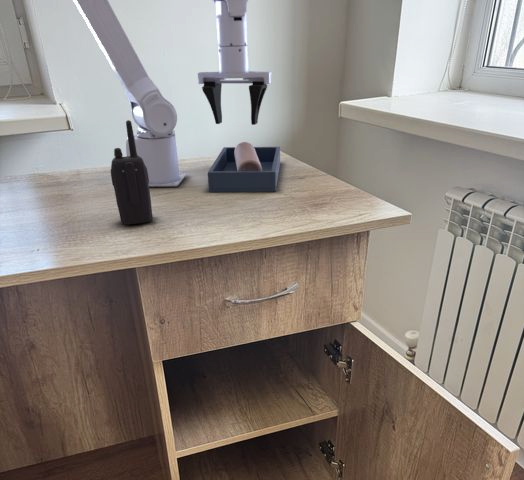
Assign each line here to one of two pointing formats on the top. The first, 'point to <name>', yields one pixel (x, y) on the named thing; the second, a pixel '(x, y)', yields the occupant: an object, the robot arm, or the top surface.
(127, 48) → the robot arm
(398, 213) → the top surface
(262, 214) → the top surface
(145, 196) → the two-way radio
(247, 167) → the pink hollow tube
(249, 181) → the holder
